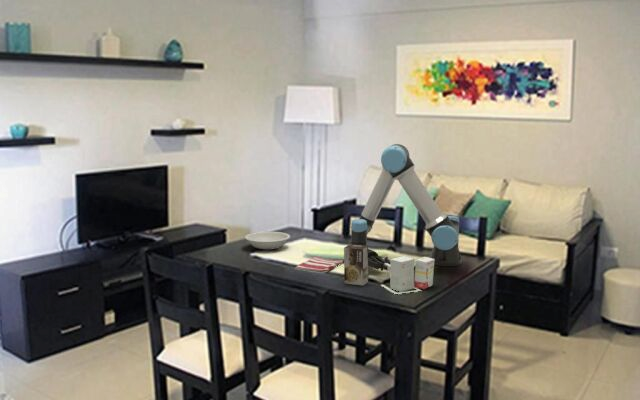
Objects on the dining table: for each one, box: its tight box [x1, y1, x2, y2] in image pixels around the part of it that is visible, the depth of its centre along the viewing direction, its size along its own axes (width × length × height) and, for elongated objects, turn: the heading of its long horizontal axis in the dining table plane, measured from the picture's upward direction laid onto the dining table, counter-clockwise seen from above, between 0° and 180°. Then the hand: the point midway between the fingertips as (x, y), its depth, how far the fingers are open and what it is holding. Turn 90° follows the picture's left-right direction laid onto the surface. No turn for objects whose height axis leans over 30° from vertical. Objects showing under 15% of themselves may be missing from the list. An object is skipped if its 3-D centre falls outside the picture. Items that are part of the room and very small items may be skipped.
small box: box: [389, 255, 415, 292], centre depth 258 cm, size 8×6×13 cm
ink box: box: [414, 256, 435, 290], centre depth 260 cm, size 9×5×12 cm, turn 144°
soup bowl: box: [244, 231, 291, 250], centre depth 329 cm, size 24×24×7 cm
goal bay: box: [380, 284, 423, 295], centre depth 259 cm, size 12×13×1 cm
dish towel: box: [294, 255, 344, 274], centre depth 295 cm, size 17×23×3 cm
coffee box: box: [343, 243, 369, 286], centre depth 266 cm, size 9×6×16 cm
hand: (392, 269), depth 265 cm, fingers closed
